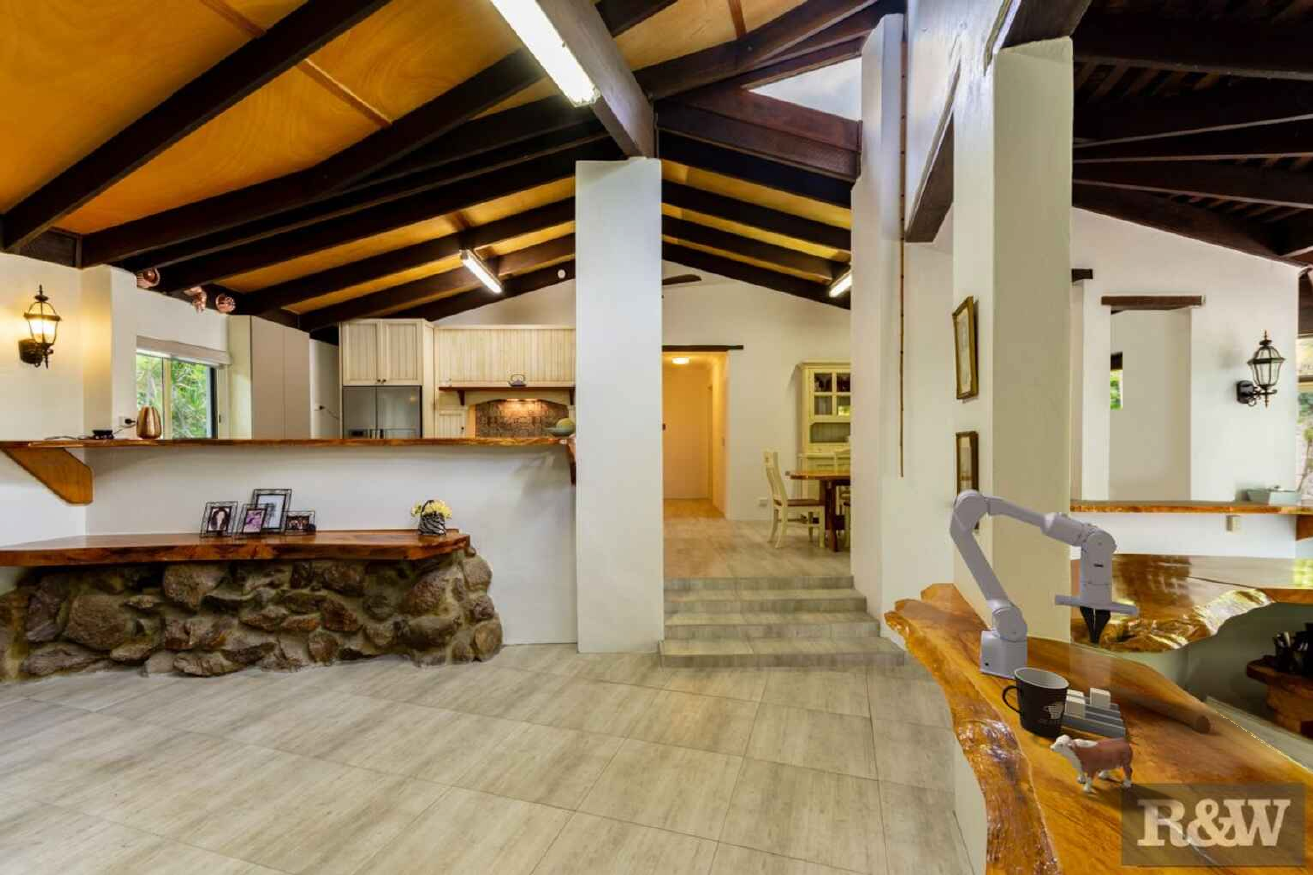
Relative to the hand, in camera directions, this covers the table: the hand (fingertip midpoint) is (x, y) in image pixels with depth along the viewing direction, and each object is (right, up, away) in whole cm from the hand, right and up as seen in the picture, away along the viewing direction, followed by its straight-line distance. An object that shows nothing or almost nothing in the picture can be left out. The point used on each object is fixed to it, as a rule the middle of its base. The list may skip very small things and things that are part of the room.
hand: (1094, 641), depth 122 cm
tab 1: (-14, -9, -12) cm, 20 cm away
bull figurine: (-26, -11, -33) cm, 43 cm away
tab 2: (-16, -9, -15) cm, 23 cm away
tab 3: (-8, -9, -11) cm, 17 cm away
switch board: (-12, -11, -13) cm, 20 cm away
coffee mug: (-25, -11, -16) cm, 31 cm away
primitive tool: (+5, -11, -8) cm, 15 cm away
